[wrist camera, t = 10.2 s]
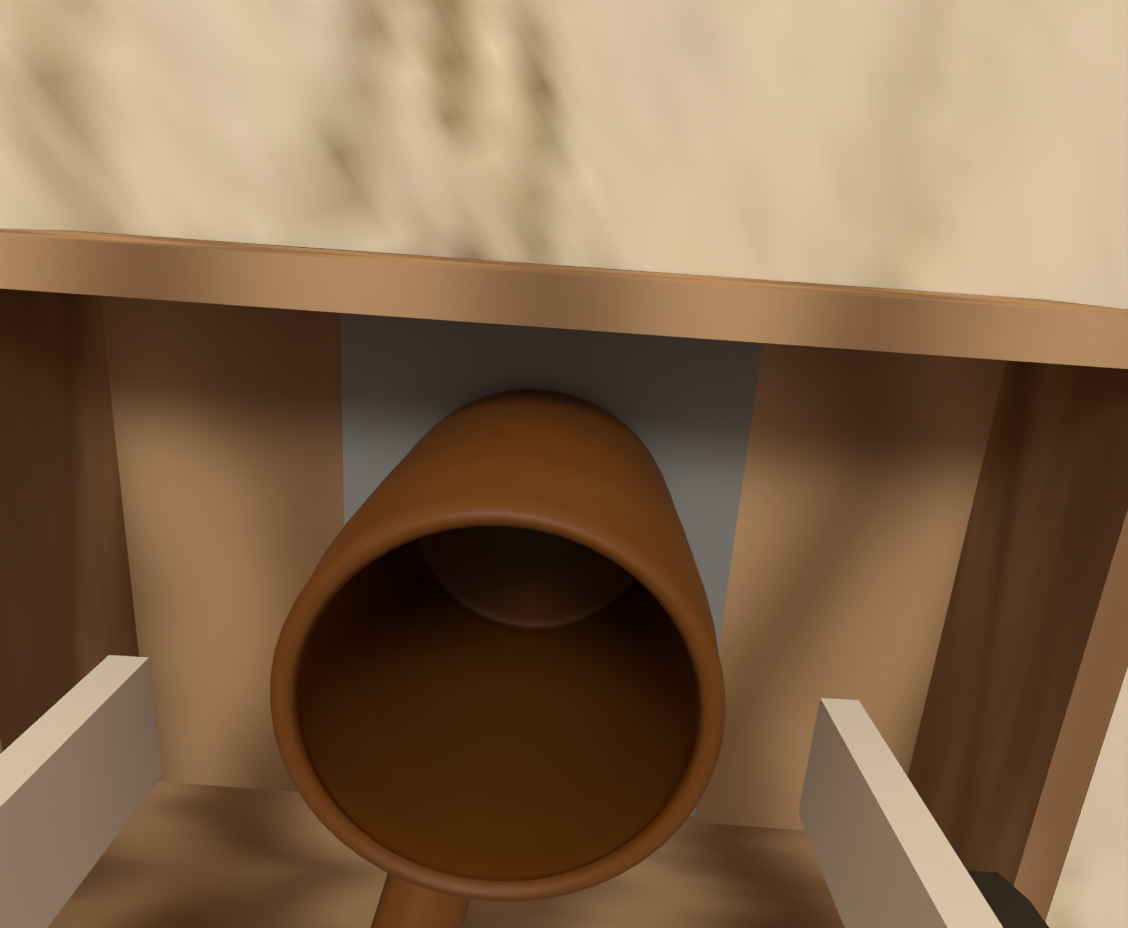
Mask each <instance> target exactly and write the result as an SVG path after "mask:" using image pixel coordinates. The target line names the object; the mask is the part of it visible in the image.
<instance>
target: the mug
mask: <svg viewBox="0 0 1128 928" xmlns="http://www.w3.org/2000/svg"><path fill="white" fill-rule="evenodd" d="M270 707H271V714H272V722H273V729H274V734H275V738H276V741H277V745H278V748H279V752H280V755H281V758H282V761H283V763H284V765H285V767H286V769H287V772H288V774H289V776H290V778H291V781H292V782H293V784H294V785H295V787H296V789H297V790H298V792H299V794H300V795H301V797H302V798H303V800H304V802H305V803H306V804H307V806H308V807H309V808H310V809H311V811H312V812H313V813H314V814H315V816H316V817H317V818H318V819H319V820H320V822H321V823H322V824H323V825H324V826H325V827H326V828H327V829H328V830H329V831H330V832H331V833H332V834H333V835H334V836H335V837H336V838H337V839H338V840H340V841H341V842H342V843H343V844H344V845H346V846H347V847H348V848H350V849H351V850H352V851H354V852H355V853H356V854H358V855H359V856H360V857H361V858H363V859H365V860H366V861H368V862H370V863H371V864H373V865H375V866H376V867H378V868H380V869H381V870H383V871H385V872H387V873H388V874H387V877H386V880H385V883H384V886H383V890H382V893H381V896H380V899H379V902H378V906H377V909H376V912H375V915H374V918H373V922H372V925H371V928H462V926H463V922H464V919H465V916H466V913H467V910H468V906H469V903H470V900H471V899H475V900H483V901H508V902H518V901H529V900H541V899H547V898H552V897H557V896H562V895H567V894H571V893H574V892H578V891H581V890H584V889H587V888H590V887H594V886H596V885H598V884H601V883H603V882H605V881H608V880H610V879H612V878H614V877H617V876H619V875H621V874H622V873H624V872H626V871H627V870H629V869H631V868H632V867H634V866H636V865H638V864H639V863H641V862H642V861H644V860H645V859H646V858H647V857H649V856H650V855H651V854H653V853H654V852H655V851H657V850H658V849H659V848H660V847H662V846H663V845H664V844H665V843H666V842H667V841H668V840H669V839H670V838H671V837H672V836H673V835H674V834H675V833H676V832H677V831H678V830H679V829H680V827H681V826H682V825H683V823H684V822H685V821H686V819H687V818H688V817H689V816H690V814H691V813H692V812H693V810H694V809H695V807H696V806H697V804H698V802H699V800H700V799H701V797H702V795H703V793H704V791H705V790H706V788H707V786H708V784H709V782H710V780H711V777H712V774H713V772H714V769H715V766H716V764H717V761H718V758H719V755H720V750H721V746H722V741H723V737H724V732H725V717H726V698H725V686H724V677H723V671H722V666H721V662H720V658H719V653H718V646H717V638H716V632H715V626H714V622H713V618H712V614H711V610H710V606H709V602H708V598H707V595H706V591H705V588H704V586H703V583H702V580H701V577H700V574H699V571H698V568H697V565H696V563H695V560H694V557H693V554H692V551H691V548H690V545H689V543H688V540H687V537H686V534H685V531H684V529H683V526H682V523H681V521H680V519H679V516H678V514H677V511H676V509H675V506H674V503H673V500H672V497H671V494H670V492H669V489H668V487H667V484H666V482H665V479H664V477H663V474H662V472H661V470H660V468H659V467H658V465H657V463H656V461H655V460H654V458H653V456H652V455H651V453H650V451H649V450H648V449H647V447H646V446H645V445H644V444H643V442H642V441H641V440H640V438H639V437H638V436H637V435H636V434H635V433H634V432H633V431H632V430H631V429H630V428H629V427H628V426H627V425H626V424H624V423H623V422H622V421H620V420H619V419H618V418H616V417H615V416H614V415H612V414H611V413H609V412H608V411H606V410H604V409H602V408H601V407H599V406H597V405H595V404H593V403H591V402H588V401H586V400H583V399H581V398H579V397H576V396H572V395H568V394H564V393H560V392H555V391H547V390H513V391H505V392H499V393H496V394H492V395H488V396H485V397H482V398H479V399H477V400H474V401H472V402H470V403H467V404H465V405H463V406H462V407H460V408H458V409H457V410H455V411H453V412H451V413H450V414H448V415H447V416H446V417H445V418H443V419H442V420H441V421H439V422H438V423H437V424H436V425H434V426H433V427H432V428H431V429H430V430H429V431H428V432H427V433H426V434H425V435H424V436H423V437H422V438H421V439H420V440H419V441H418V442H417V443H416V444H415V446H414V447H413V448H412V449H411V450H410V451H409V453H408V454H407V455H406V456H405V457H404V458H403V459H402V460H401V461H400V463H399V464H398V465H397V466H396V467H395V468H394V469H393V470H392V471H391V472H390V473H389V474H388V475H387V476H386V478H385V479H384V480H383V481H382V482H381V483H380V485H379V486H378V487H377V488H376V489H375V490H374V491H373V493H372V494H371V495H370V496H369V497H368V498H367V500H366V501H365V502H364V503H363V504H362V505H361V507H360V508H359V509H358V510H357V511H356V512H355V514H354V515H353V516H352V517H351V518H350V519H349V521H348V522H347V523H346V524H345V525H344V527H343V528H342V529H341V531H340V532H339V533H338V535H337V536H336V537H335V539H334V540H333V542H332V543H331V544H330V546H329V547H328V549H327V550H326V551H325V553H324V554H323V556H322V557H321V559H320V561H319V563H318V564H317V566H316V568H315V570H314V572H313V573H312V575H311V577H310V579H309V580H308V582H307V583H306V585H305V586H304V587H303V589H302V590H301V592H300V593H299V595H298V597H297V598H296V600H295V602H294V604H293V606H292V608H291V610H290V612H289V614H288V616H287V618H286V620H285V621H284V623H283V626H282V629H281V632H280V635H279V638H278V641H277V644H276V647H275V650H274V656H273V662H272V668H271V674H270Z"/></svg>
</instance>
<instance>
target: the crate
mask: <svg viewBox="0 0 1128 928" xmlns="http://www.w3.org/2000/svg"><path fill="white" fill-rule="evenodd" d="M340 313H351V314H365V315H379V316H393V317H407V318H421V319H435V320H449V321H463V322H477V323H491V324H505V325H519V326H533V327H547V328H561V329H575V330H589V331H603V332H617V333H631V334H645V335H659V336H673V337H687V338H701V339H715V340H729V341H743V342H757V343H762V350H761V357H760V364H759V371H758V378H757V385H756V392H755V399H754V406H753V413H752V420H751V427H750V434H749V441H748V448H747V455H746V462H745V469H744V476H743V483H742V490H741V497H740V504H739V511H738V518H737V525H736V532H735V539H734V545H733V552H732V559H731V566H730V573H729V580H728V587H727V594H726V601H725V608H724V615H723V622H722V629H721V636H720V643H719V650H718V653H719V658H720V662H721V666H722V671H723V677H724V686H725V698H726V717H725V732H724V737H723V741H722V746H721V750H720V755H719V758H718V761H717V764H716V766H715V769H714V772H713V774H712V777H711V780H710V782H709V784H708V786H707V788H706V790H705V791H704V793H703V795H702V797H701V799H700V800H699V802H698V804H697V806H696V810H695V816H689V817H688V818H687V819H686V821H685V822H684V823H683V825H682V826H681V827H680V829H679V830H678V831H677V832H676V833H675V834H674V835H673V836H672V837H671V838H670V839H669V840H668V841H667V842H666V843H665V844H664V845H663V846H662V847H660V848H659V849H658V850H657V851H655V852H654V853H653V854H651V855H650V856H649V857H647V858H646V859H645V860H644V861H642V862H641V863H639V864H638V865H636V866H634V867H632V868H631V869H629V870H627V871H626V872H624V873H622V874H621V875H619V876H617V877H614V878H612V879H610V880H608V881H605V882H603V883H601V884H598V885H596V886H594V887H590V888H587V889H584V890H581V891H578V892H574V893H571V894H567V895H562V896H557V897H552V898H547V899H541V900H529V901H518V902H508V901H483V900H475V899H471V900H470V903H469V906H468V910H467V913H466V916H465V919H464V922H463V926H462V928H845V927H844V925H843V922H842V920H841V918H840V915H839V913H838V910H837V908H836V905H835V903H834V900H833V898H832V895H831V893H830V890H829V888H828V885H827V883H826V880H825V878H824V875H823V873H822V871H821V868H820V866H819V863H818V861H817V858H816V856H815V853H814V851H813V848H812V846H811V843H810V841H809V838H808V836H807V833H806V831H805V828H804V826H803V824H802V821H801V819H800V816H799V814H798V809H799V804H800V799H801V794H802V789H803V784H804V779H805V774H806V769H807V763H808V758H809V753H810V748H811V743H812V738H813V733H814V728H815V723H816V717H817V712H818V707H819V702H820V698H831V699H847V700H859V701H860V703H861V704H862V706H863V708H864V709H865V711H866V712H867V714H868V715H869V717H870V719H871V720H872V722H873V723H874V725H875V726H876V728H877V730H878V731H879V733H880V734H881V736H882V737H883V739H884V741H885V742H886V744H887V745H888V747H889V749H890V750H891V752H892V753H893V755H894V756H895V758H896V760H897V761H898V763H899V764H900V766H901V767H902V769H903V771H904V772H905V774H906V775H907V777H908V778H909V780H910V782H911V783H912V785H913V786H914V788H915V790H916V791H917V793H918V794H919V796H920V797H921V799H922V801H923V802H924V804H925V805H926V807H927V808H928V810H929V812H930V813H931V815H932V816H933V818H934V819H935V821H936V823H937V824H938V826H939V827H940V829H941V831H942V832H943V834H944V835H945V837H946V838H947V840H948V842H949V843H950V845H951V846H952V848H953V849H954V851H955V853H956V854H957V856H958V857H959V859H960V861H961V862H962V864H963V865H964V867H965V868H966V870H967V871H984V872H998V873H999V874H1000V875H1001V876H1002V877H1004V878H1005V879H1006V880H1007V881H1008V882H1009V883H1010V884H1012V885H1013V886H1014V887H1015V888H1016V889H1017V890H1018V891H1019V892H1021V893H1022V894H1023V895H1024V896H1025V897H1026V898H1027V899H1029V900H1030V901H1031V903H1032V904H1033V906H1034V907H1035V908H1036V910H1037V911H1038V913H1039V914H1040V916H1041V917H1042V918H1043V920H1044V921H1046V918H1047V914H1048V911H1049V908H1050V905H1051V902H1052V899H1053V896H1054V893H1055V890H1056V887H1057V884H1058V880H1059V877H1060V874H1061V871H1062V868H1063V865H1064V862H1065V859H1066V856H1067V853H1068V850H1069V846H1070V843H1071V840H1072V837H1073V834H1074V831H1075V828H1076V825H1077V822H1078V819H1079V816H1080V813H1081V809H1082V806H1083V803H1084V800H1085V797H1086V794H1087V791H1088V788H1089V785H1090V782H1091V779H1092V775H1093V772H1094V769H1095V766H1096V763H1097V760H1098V757H1099V754H1100V751H1101V748H1102V745H1103V741H1104V738H1105V735H1106V732H1107V729H1108V726H1109V723H1110V720H1111V717H1112V714H1113V711H1114V708H1115V704H1116V701H1117V698H1118V695H1119V692H1120V689H1121V686H1122V683H1123V680H1124V677H1125V674H1126V670H1127V667H1128V309H1119V308H1111V307H1102V306H1094V305H1085V304H1077V303H1068V302H1060V301H1051V300H1040V299H1026V298H1012V297H998V296H984V295H970V294H955V293H941V292H927V291H913V290H899V289H885V288H871V287H857V286H843V285H828V284H814V283H800V282H786V281H772V280H758V279H744V278H730V277H716V276H701V275H687V274H673V273H659V272H645V271H631V270H617V269H603V268H589V267H575V266H560V265H546V264H532V263H518V262H504V261H490V260H476V259H462V258H448V257H433V256H419V255H405V254H391V253H377V252H363V251H349V250H335V249H321V248H306V247H292V246H278V245H264V244H250V243H236V242H222V241H208V240H194V239H180V238H165V237H151V236H137V235H123V234H109V233H95V232H81V231H62V230H27V229H0V754H1V753H2V752H3V751H4V750H5V749H7V748H8V747H9V746H10V745H11V744H12V743H13V742H14V741H15V740H16V739H17V738H19V737H20V736H21V735H22V734H23V733H24V732H25V731H26V730H27V729H28V728H30V727H31V726H32V725H33V724H34V723H35V722H36V721H37V720H38V719H39V718H40V717H42V716H43V715H44V714H45V713H46V712H47V711H48V710H49V709H50V708H51V707H53V706H54V705H55V704H56V703H57V702H58V701H59V700H60V699H61V698H62V697H63V696H65V695H66V694H67V693H68V692H69V691H70V690H71V689H72V688H73V687H74V686H76V685H77V684H78V683H79V682H80V681H81V680H82V679H83V678H84V677H85V676H86V675H88V674H89V673H90V672H91V671H92V670H93V669H94V668H95V667H96V666H97V665H99V664H100V663H101V662H102V661H103V660H104V659H105V658H106V657H107V656H108V655H117V656H133V657H149V664H150V673H151V682H152V691H153V701H154V710H155V719H156V728H157V737H158V746H159V755H160V764H161V773H162V776H161V777H160V779H159V780H158V781H157V783H156V784H155V785H154V787H153V788H152V789H151V791H150V792H149V793H148V795H147V796H146V797H145V799H144V800H143V801H142V803H141V804H140V805H139V807H138V808H137V809H136V811H135V812H134V813H133V815H132V816H131V817H130V819H129V820H128V821H127V823H126V824H125V825H124V827H123V828H122V829H121V831H120V832H119V833H118V835H117V836H116V837H115V839H114V840H113V841H112V843H111V844H110V845H109V847H108V848H107V849H106V851H105V852H104V853H103V855H102V856H101V857H100V859H99V860H98V861H97V863H96V864H95V865H94V867H93V868H92V869H91V871H90V872H89V873H88V874H87V876H86V877H85V878H84V880H83V881H82V882H81V884H80V885H79V886H78V888H77V889H76V890H75V892H74V893H73V894H72V896H71V897H70V898H69V900H68V901H67V902H66V904H65V905H64V906H63V908H62V909H61V910H60V912H59V913H58V914H57V916H56V917H55V918H54V920H53V921H52V922H51V924H50V925H49V926H48V928H371V925H372V922H373V918H374V915H375V912H376V909H377V906H378V902H379V899H380V896H381V893H382V890H383V886H384V883H385V880H386V877H387V874H388V873H387V872H385V871H383V870H381V869H380V868H378V867H376V866H375V865H373V864H371V863H370V862H368V861H366V860H365V859H363V858H361V857H360V856H359V855H358V854H356V853H355V852H354V851H352V850H351V849H350V848H348V847H347V846H346V845H344V844H343V843H342V842H341V841H340V840H338V839H337V838H336V837H335V836H334V835H333V834H332V833H331V832H330V831H329V830H328V829H327V828H326V827H325V826H324V825H323V824H322V823H321V822H320V820H319V819H318V818H317V817H316V816H315V814H314V813H313V812H312V811H311V809H310V808H309V807H308V806H307V804H306V803H305V802H304V800H303V798H302V797H301V795H300V794H299V792H298V790H297V789H296V787H295V785H294V784H293V782H292V781H291V778H290V776H289V774H288V772H287V769H286V767H285V765H284V763H283V761H282V758H281V755H280V752H279V748H278V745H277V741H276V738H275V734H274V729H273V722H272V714H271V707H270V674H271V668H272V662H273V656H274V650H275V647H276V644H277V641H278V638H279V635H280V632H281V629H282V626H283V623H284V621H285V620H286V618H287V616H288V614H289V612H290V610H291V608H292V606H293V604H294V602H295V600H296V598H297V597H298V595H299V593H300V592H301V590H302V589H303V587H304V586H305V585H306V583H307V582H308V580H309V579H310V577H311V575H312V573H313V572H314V570H315V568H316V566H317V564H318V563H319V561H320V559H321V557H322V556H323V554H324V553H325V551H326V550H327V549H328V547H329V546H330V544H331V543H332V542H333V540H334V539H335V537H336V536H337V535H338V533H339V532H340V531H341V529H342V528H343V527H344V480H343V425H342V370H341V315H340Z"/></svg>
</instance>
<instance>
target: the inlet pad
mask: <svg viewBox="0 0 1128 928" xmlns="http://www.w3.org/2000/svg"><path fill="white" fill-rule="evenodd" d="M340 315H341V370H342V425H343V480H344V525H345V524H346V523H347V522H348V521H349V519H350V518H351V517H352V516H353V515H354V514H355V512H356V511H357V510H358V509H359V508H360V507H361V505H362V504H363V503H364V502H365V501H366V500H367V498H368V497H369V496H370V495H371V494H372V493H373V491H374V490H375V489H376V488H377V487H378V486H379V485H380V483H381V482H382V481H383V480H384V479H385V478H386V476H387V475H388V474H389V473H390V472H391V471H392V470H393V469H394V468H395V467H396V466H397V465H398V464H399V463H400V461H401V460H402V459H403V458H404V457H405V456H406V455H407V454H408V453H409V451H410V450H411V449H412V448H413V447H414V446H415V444H416V443H417V442H418V441H419V440H420V439H421V438H422V437H423V436H424V435H425V434H426V433H427V432H428V431H429V430H430V429H431V428H432V427H433V426H434V425H436V424H437V423H438V422H439V421H441V420H442V419H443V418H445V417H446V416H447V415H448V414H450V413H451V412H453V411H455V410H457V409H458V408H460V407H462V406H463V405H465V404H467V403H470V402H472V401H474V400H477V399H479V398H482V397H485V396H488V395H492V394H496V393H499V392H505V391H513V390H547V391H555V392H560V393H564V394H568V395H572V396H576V397H579V398H581V399H583V400H586V401H588V402H591V403H593V404H595V405H597V406H599V407H601V408H602V409H604V410H606V411H608V412H609V413H611V414H612V415H614V416H615V417H616V418H618V419H619V420H620V421H622V422H623V423H624V424H626V425H627V426H628V427H629V428H630V429H631V430H632V431H633V432H634V433H635V434H636V435H637V436H638V437H639V438H640V440H641V441H642V442H643V444H644V445H645V446H646V447H647V449H648V450H649V451H650V453H651V455H652V456H653V458H654V460H655V461H656V463H657V465H658V467H659V468H660V470H661V472H662V474H663V477H664V479H665V482H666V484H667V487H668V489H669V492H670V494H671V497H672V500H673V503H674V506H675V509H676V511H677V514H678V516H679V519H680V521H681V523H682V526H683V529H684V531H685V534H686V537H687V540H688V543H689V545H690V548H691V551H692V554H693V557H694V560H695V563H696V565H697V568H698V571H699V574H700V577H701V580H702V583H703V586H704V588H705V591H706V595H707V598H708V602H709V606H710V610H711V614H712V618H713V622H714V626H715V632H716V638H717V646H718V650H719V643H720V636H721V629H722V622H723V615H724V608H725V601H726V594H727V587H728V580H729V573H730V566H731V559H732V552H733V545H734V539H735V532H736V525H737V518H738V511H739V504H740V497H741V490H742V483H743V476H744V469H745V462H746V455H747V448H748V441H749V434H750V427H751V420H752V413H753V406H754V399H755V392H756V385H757V378H758V371H759V364H760V357H761V350H762V343H757V342H743V341H729V340H715V339H701V338H687V337H673V336H659V335H645V334H631V333H617V332H603V331H589V330H575V329H561V328H547V327H533V326H519V325H505V324H491V323H477V322H463V321H449V320H435V319H421V318H407V317H393V316H379V315H365V314H351V313H340ZM695 810H696V807H695V809H694V810H693V812H692V813H691V814H690V816H695Z"/></svg>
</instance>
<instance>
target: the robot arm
mask: <svg viewBox="0 0 1128 928" xmlns="http://www.w3.org/2000/svg"><path fill="white" fill-rule="evenodd" d="M161 776H162V773H161V764H160V755H159V746H158V737H157V728H156V719H155V710H154V701H153V691H152V682H151V673H150V664H149V657H133V656H117V655H108V656H107V657H106V658H105V659H104V660H103V661H102V662H101V663H100V664H99V665H97V666H96V667H95V668H94V669H93V670H92V671H91V672H90V673H89V674H88V675H86V676H85V677H84V678H83V679H82V680H81V681H80V682H79V683H78V684H77V685H76V686H74V687H73V688H72V689H71V690H70V691H69V692H68V693H67V694H66V695H65V696H63V697H62V698H61V699H60V700H59V701H58V702H57V703H56V704H55V705H54V706H53V707H51V708H50V709H49V710H48V711H47V712H46V713H45V714H44V715H43V716H42V717H40V718H39V719H38V720H37V721H36V722H35V723H34V724H33V725H32V726H31V727H30V728H28V729H27V730H26V731H25V732H24V733H23V734H22V735H21V736H20V737H19V738H17V739H16V740H15V741H14V742H13V743H12V744H11V745H10V746H9V747H8V748H7V749H5V750H4V751H3V752H2V753H1V754H0V928H48V926H49V925H50V924H51V922H52V921H53V920H54V918H55V917H56V916H57V914H58V913H59V912H60V910H61V909H62V908H63V906H64V905H65V904H66V902H67V901H68V900H69V898H70V897H71V896H72V894H73V893H74V892H75V890H76V889H77V888H78V886H79V885H80V884H81V882H82V881H83V880H84V878H85V877H86V876H87V874H88V873H89V872H90V871H91V869H92V868H93V867H94V865H95V864H96V863H97V861H98V860H99V859H100V857H101V856H102V855H103V853H104V852H105V851H106V849H107V848H108V847H109V845H110V844H111V843H112V841H113V840H114V839H115V837H116V836H117V835H118V833H119V832H120V831H121V829H122V828H123V827H124V825H125V824H126V823H127V821H128V820H129V819H130V817H131V816H132V815H133V813H134V812H135V811H136V809H137V808H138V807H139V805H140V804H141V803H142V801H143V800H144V799H145V797H146V796H147V795H148V793H149V792H150V791H151V789H152V788H153V787H154V785H155V784H156V783H157V781H158V780H159V779H160V777H161ZM798 814H799V816H800V819H801V821H802V824H803V826H804V828H805V831H806V833H807V836H808V838H809V841H810V843H811V846H812V848H813V851H814V853H815V856H816V858H817V861H818V863H819V866H820V868H821V871H822V873H823V875H824V878H825V880H826V883H827V885H828V888H829V890H830V893H831V895H832V898H833V900H834V903H835V905H836V908H837V910H838V913H839V915H840V918H841V920H842V922H843V925H844V927H845V928H1049V927H1048V926H1047V924H1046V923H1045V921H1044V920H1043V918H1042V917H1041V916H1040V914H1039V913H1038V911H1037V910H1036V908H1035V907H1034V906H1033V904H1032V903H1031V901H1030V900H1029V899H1027V898H1026V897H1025V896H1024V895H1023V894H1022V893H1021V892H1019V891H1018V890H1017V889H1016V888H1015V887H1014V886H1013V885H1012V884H1010V883H1009V882H1008V881H1007V880H1006V879H1005V878H1004V877H1002V876H1001V875H1000V874H999V873H998V872H984V871H967V870H966V868H965V867H964V865H963V864H962V862H961V861H960V859H959V857H958V856H957V854H956V853H955V851H954V849H953V848H952V846H951V845H950V843H949V842H948V840H947V838H946V837H945V835H944V834H943V832H942V831H941V829H940V827H939V826H938V824H937V823H936V821H935V819H934V818H933V816H932V815H931V813H930V812H929V810H928V808H927V807H926V805H925V804H924V802H923V801H922V799H921V797H920V796H919V794H918V793H917V791H916V790H915V788H914V786H913V785H912V783H911V782H910V780H909V778H908V777H907V775H906V774H905V772H904V771H903V769H902V767H901V766H900V764H899V763H898V761H897V760H896V758H895V756H894V755H893V753H892V752H891V750H890V749H889V747H888V745H887V744H886V742H885V741H884V739H883V737H882V736H881V734H880V733H879V731H878V730H877V728H876V726H875V725H874V723H873V722H872V720H871V719H870V717H869V715H868V714H867V712H866V711H865V709H864V708H863V706H862V704H861V703H860V701H859V700H847V699H831V698H820V702H819V707H818V712H817V717H816V723H815V728H814V733H813V738H812V743H811V748H810V753H809V758H808V763H807V769H806V774H805V779H804V784H803V789H802V794H801V799H800V804H799V809H798Z"/></svg>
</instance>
